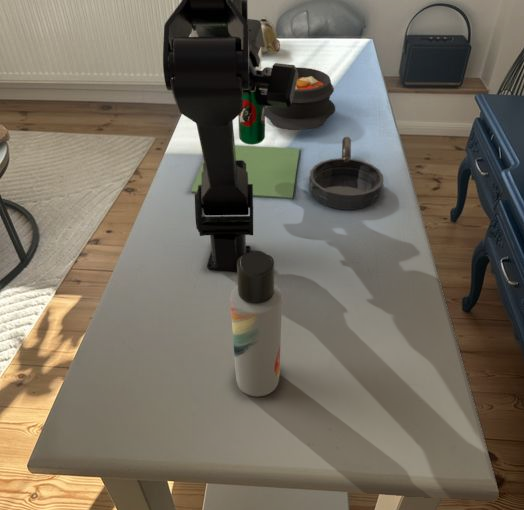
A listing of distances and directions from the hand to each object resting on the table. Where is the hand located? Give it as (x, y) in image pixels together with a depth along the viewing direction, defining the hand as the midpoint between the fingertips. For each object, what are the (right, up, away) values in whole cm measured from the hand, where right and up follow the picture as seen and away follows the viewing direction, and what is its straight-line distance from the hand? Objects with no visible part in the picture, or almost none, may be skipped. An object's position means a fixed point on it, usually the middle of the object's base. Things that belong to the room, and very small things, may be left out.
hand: (253, 103), depth 91 cm
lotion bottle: (+1, -51, -27) cm, 57 cm away
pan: (+18, -15, +4) cm, 24 cm away
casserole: (+10, +11, +28) cm, 32 cm away
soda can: (0, -5, +4) cm, 7 cm away
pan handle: (+19, -6, +10) cm, 23 cm away
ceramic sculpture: (+2, +49, +55) cm, 73 cm away
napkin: (-1, -9, +10) cm, 13 cm away
